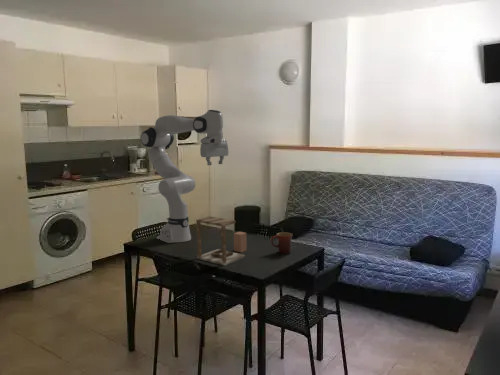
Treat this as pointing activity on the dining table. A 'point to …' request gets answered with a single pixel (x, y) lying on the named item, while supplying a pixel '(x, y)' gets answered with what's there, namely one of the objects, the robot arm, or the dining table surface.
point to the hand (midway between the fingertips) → (215, 164)
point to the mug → (283, 242)
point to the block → (240, 242)
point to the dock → (222, 255)
